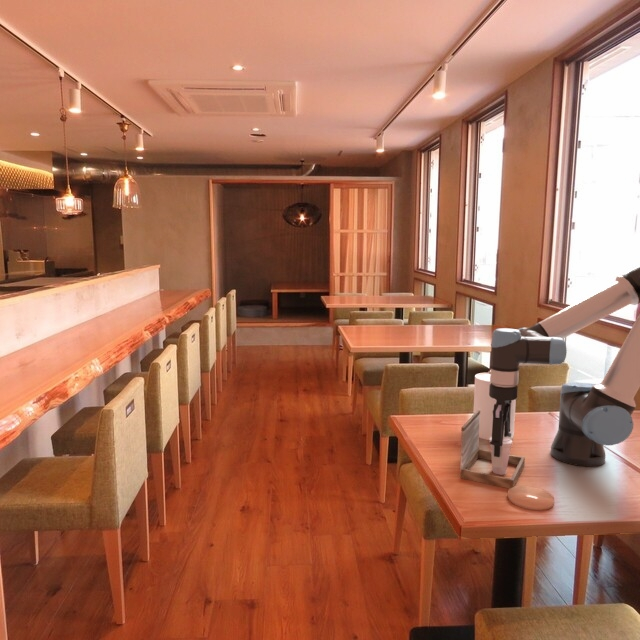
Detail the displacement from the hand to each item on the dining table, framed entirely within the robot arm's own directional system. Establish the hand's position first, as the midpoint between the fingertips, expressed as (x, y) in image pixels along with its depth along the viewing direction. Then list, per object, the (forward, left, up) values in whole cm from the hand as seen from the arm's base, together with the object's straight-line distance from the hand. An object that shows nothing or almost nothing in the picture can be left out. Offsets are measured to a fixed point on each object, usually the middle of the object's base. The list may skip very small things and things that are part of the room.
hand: (499, 462), depth 154 cm
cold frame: (+1, 0, -3) cm, 3 cm away
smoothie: (0, 0, -3) cm, 3 cm away
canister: (+8, -32, -3) cm, 33 cm away
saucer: (-11, +13, -3) cm, 17 cm away
